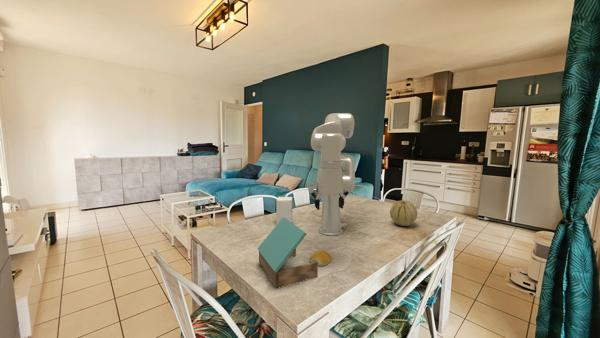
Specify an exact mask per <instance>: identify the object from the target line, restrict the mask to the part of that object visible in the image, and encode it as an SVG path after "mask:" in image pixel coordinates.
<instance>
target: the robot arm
mask: <svg viewBox="0 0 600 338" xmlns="http://www.w3.org/2000/svg"><path fill="white" fill-rule="evenodd" d="M354 130H355V117H354V115H353V114H351V113H349V112H342V113H341V112H336V113H329V114H328V115H326V117H325V120H324V123H323V124H321V125H319V126H316V127H315V128H314V129H313V131H312V133H311V139H310V146H311V149H312V150H313V151H315V152H320V168H318V169H317V174H316V183H314V185H311V186H309V187H308V188H307V190H308V191H309V193H310V195H311V196H312V198H314V207H315V209H316V210H321V226H320V227H319V228H318V233H321V235H324V236H331V237H332V236H335V237H336V236H339V235H341V234H342V233H343V227H347V226H348V224H347V222H341V209H344V206H345V199H346V197H347V196H348V195H349V194H350V193H352V192H353V191H354V190H355V186H356V184H355V183H356V182H355V181H356V180H355V179H356V174H355V173H356V171H355V169H356V165H355V159H354V157H353V156H352V155H349V154H342V151H343V150H344V148H345V147H346V143H347V141H346V139H350V138H352V137H353V135H354ZM314 190H315V191H316V193H314ZM320 197H321V198H322V199H321V200H320ZM320 201H322V202H320ZM320 206H321V209H320Z"/></svg>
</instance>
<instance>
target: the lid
mask: <svg viewBox="0 0 600 338" xmlns="http://www.w3.org/2000/svg"><path fill="white" fill-rule="evenodd" d="M306 236H307V232H305V231H304V230H302V229H301V228H299V226H297V225H295V223H293V222H292V223H291V222H290V221H288V220H287V219H286V218H284V217H283V218H282V219H281V221H280V222H279V223H278V224H277V225H276V226H275V227H273V229H272V230H271V231H270V233H269V234H268V235H267V236H266V238H265V239H264V240H263V241H262V243H260V244H259V245H258V247H257V250H258V253H259V252H260V253H261V254H262V256H263V257H264V258H265V260H266V261H267V262H268V264H269V265H270V266H271V268H272V269H273V270H274V271H275V272H276V273H277V271H280V269H281V267H282V266H283V265H284V264H285V263H286V261H287V260H288V259H289V258H290V257H289V256H290V255H291V254H292V252H293V251H294V250H295V248H296V249H297V247H298V246H299V245H300V244H301V242H302V241H303V240H304V238H306Z"/></svg>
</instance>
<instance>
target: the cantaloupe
mask: <svg viewBox="0 0 600 338" xmlns="http://www.w3.org/2000/svg"><path fill="white" fill-rule="evenodd" d="M389 216H390V218H391V220H392V221H393V222H394V223H395V224H397V225H398V226H400V227H401V226H402V227H404V226H405V227H407V226H410V225H413V224H414V223H415V221H416V220H417V218H418V209H417V207H416V206H415V205H414V204H413V203H412V202H411V201H409V200H406V199H405V200H404V199H402V200H397V201H396V202H394V203H393V204H392V206H391V208H390V210H389Z"/></svg>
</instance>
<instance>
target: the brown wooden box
mask: <svg viewBox="0 0 600 338" xmlns="http://www.w3.org/2000/svg"><path fill="white" fill-rule="evenodd" d="M291 256H293V257H296V256H297V247H296V248H295V250H294V251H293V252H292V254H291V255H290V256H289V257H288V258H292V257H291ZM259 263H260V264H259ZM258 264H259V265H260V267H261V266H262V267H261V268H262V269H264V270H263V271H264V272H266V273H265V274H266V276H267V275H268V276H269V277H268V276H267V277H268V279H269V278H270V279H271V280H270V279H269V280H270V281H272V282H273V283H272V282H271V283H272V285H273V286H274V285H275V286H274V287H275V289H276V288H277V289H280V288H283V287H282V286H284V287H287V286H290V285H289V284H291V285H293V283H294V284H297V283H296V282H298V283H301V282H304V281H307V280H306V279H308V280H311V279H314V278H313V277H315V278H317V276H319V273H318V268H319V266H318V262H317V261H316V262H312V263H310V262H309V263H304V264H300V265H297V266H293V267H289V268H286V269H285V268H284V269H281V270H278V271H277V273H276V272H275V271H274V270H273V269H272V268H271V266H270V265H269V264H268V262H267V261H266V260H265V258H264V257H263V256H262V254H261V253H260V252H259V251H258ZM310 278H311V279H310ZM303 280H304V281H303ZM300 281H301V282H300ZM286 285H287V286H286ZM279 287H280V288H279Z"/></svg>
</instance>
